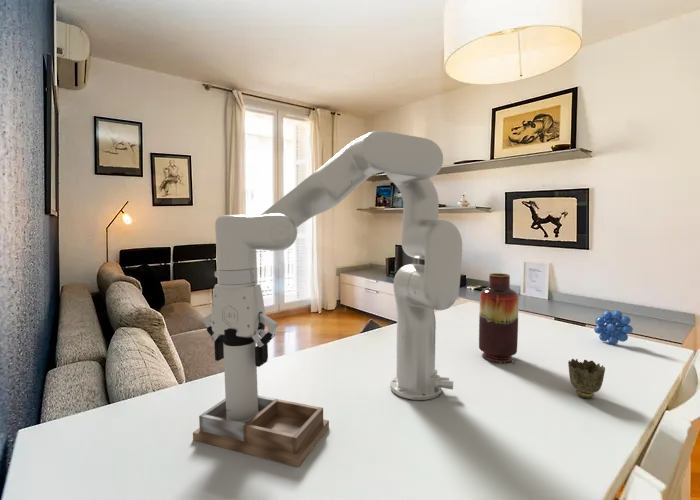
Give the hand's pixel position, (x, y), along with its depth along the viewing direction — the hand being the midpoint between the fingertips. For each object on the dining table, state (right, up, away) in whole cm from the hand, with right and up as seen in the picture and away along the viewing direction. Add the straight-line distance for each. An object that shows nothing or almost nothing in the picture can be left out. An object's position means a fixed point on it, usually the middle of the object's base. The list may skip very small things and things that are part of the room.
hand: (241, 361), depth 73 cm
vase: (+68, -11, +39) cm, 79 cm away
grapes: (+113, -10, +52) cm, 125 cm away
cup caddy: (+5, -14, -1) cm, 15 cm away
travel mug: (0, -13, +1) cm, 13 cm away
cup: (+79, -13, +14) cm, 81 cm away
